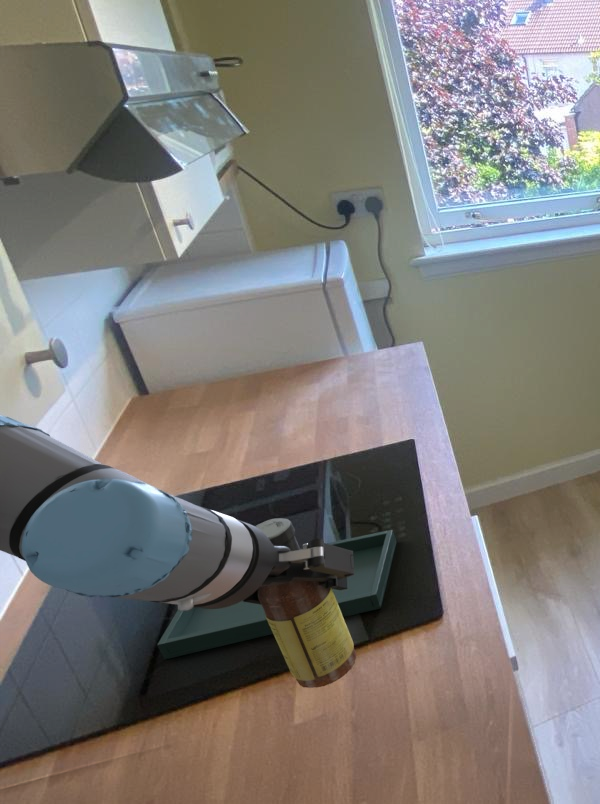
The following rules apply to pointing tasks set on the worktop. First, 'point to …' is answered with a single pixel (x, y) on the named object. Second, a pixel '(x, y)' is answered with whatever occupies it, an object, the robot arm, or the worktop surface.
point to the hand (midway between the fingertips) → (308, 585)
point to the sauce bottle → (306, 620)
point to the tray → (249, 619)
